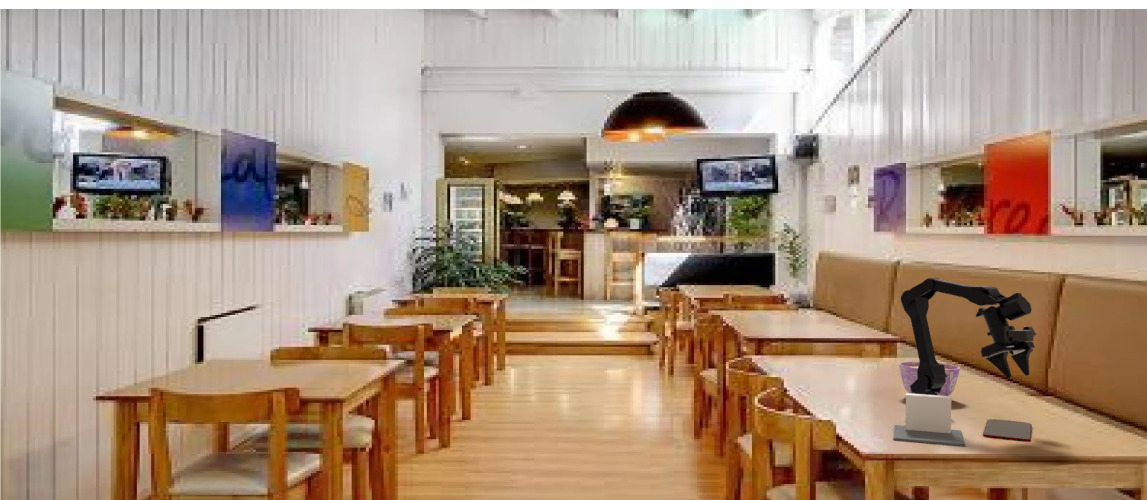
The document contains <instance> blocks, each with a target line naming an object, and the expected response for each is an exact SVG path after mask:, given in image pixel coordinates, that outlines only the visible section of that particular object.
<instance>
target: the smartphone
mask: <svg viewBox="0 0 1147 500" xmlns="http://www.w3.org/2000/svg"><path fill="white" fill-rule="evenodd" d="M1032 426H1033V425H1032V423H1029V422H1025V421H1015V420H1007V419H1006V420H1005V419H998V418H997V419H995V418H993V419H992V418H990V419H989V418H988V419H987V420H986V423H985V426H984V430H983V431H982V432H983V433H982V437H983V438H990V439H991V438H992V439H997V440H999V439H1000V440H1007V441H1008V440H1009V441H1016V442H1017V441H1018V442H1025V443H1026V442H1028V443H1031V441H1032V440H1031V439H1032V436H1031V432H1033V428H1032Z"/></svg>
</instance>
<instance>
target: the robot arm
mask: <svg viewBox="0 0 1147 500" xmlns="http://www.w3.org/2000/svg"><path fill="white" fill-rule="evenodd" d="M937 292H938V293H942V294H947V295H951V296H956V297H959V298H964V299H965V300H967V301H968V302H970V303H973V304H975V305H977V306H979V308H978V311H977V312H976V314H975V317H976V318H981V317H982V318H983V319H984V321H985V323H986V326H987V328H988V332H986V334H987V337H991V338H992V341H993V343H991V344H988V345H985V346H983V347H981V349H980V351H979V352H980V354H981V357H982V358H983V359H986V360H987V361H988V362H990V364H992V365H994V367H995V368H996V369H998V370H999V371H1000V372H1001V373H1002V374H1003V375H1004V376H1005V377H1006V378H1007V379H1010V378H1012V372H1011V369H1010V365H1009V363H1008V359H1007V358H1008V354H1011V356H1010V357H1011V359H1012V360H1013V361H1014V362H1015V364H1016V365H1017V367H1018V368H1019V369H1020V371H1021V372H1022V374H1023V375H1024V376H1026V377H1028V376H1030V363H1029V359H1030V355H1031V354H1032V352H1033V351H1034V349H1035V347H1036V346H1035V344H1034V341H1035V340H1034V338H1035V336H1037V334H1036V332H1035V330H1034V328H1033V326H1024V327H1023V329H1016V328H1015V326H1013V325H1010V324H1009V321H1015V320H1017V319H1020V318H1023V317H1025V316H1027V315H1030V314H1031V313H1032V305H1031V303H1030V302H1029V301H1028V300H1027V298H1025V296H1023V295H1022V293H1021V292H1016V293H1012V295H1010V296H1008V297H1007V296H1005V295H1004V294H1002V293H1000V291H999V289H998V288H997V287H995V286H992V285H991V286H989V285H988V286H986V285H982V286H981V285H969V284H964V283H960V282H954V281H949V280H945V279H941V278H939V277H927V278H926V279H925V280H924V281H922V282H921V283H919V284H917V285H915V286H912V287H911V288H910V289H907V290H904V291H903V292H902V294H901V295H900V302H901V306H902V308H903V310H904V312H905V313H906V315H907V316H908V317H909V319H910V322H911V326H912V332H913V336H914V342H915V346H916V350H917V356H918V362H919V366H918V370H917V378H918V379H917V380H916V381H915V382H914V383H913V384H912V385H911V386H910V388H911V392H912V393H915V394H925V395H937V394H936V393H937V392H938V393H939V392H941V389H942V387H943V386H944V384H945V383H946V377H947V375H946V373H945V367H944V365H943V364H941V365H939V363H940V362H938V360H937V359H936V355H935V350H934V346H933V340H932V336H931V332H930V327H929V322H928V317H927V314H928V312H929V311H928V310H929V306H930V305H929V301H930V300H931V299H933V298H934V296H935V295H936V293H937ZM997 305H999V306H997ZM981 306H985V307H986V306H989V307H986V308H984V307H981ZM1008 320H1009V321H1008Z"/></svg>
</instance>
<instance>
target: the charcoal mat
mask: <svg viewBox="0 0 1147 500" xmlns="http://www.w3.org/2000/svg"><path fill="white" fill-rule="evenodd" d="M892 439H893V441H898V440H901V442H910V441H911V442H910V443H912V442H913V443H923V444H934V445H945V446H946V445H947V446H957V447H966V443H965V440H964V435H963V431H962V429H961V430H960V429H951V433H940V432H928V431H916V430H905V425H901V424H894V428H893V438H892Z"/></svg>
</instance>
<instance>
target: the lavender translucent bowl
mask: <svg viewBox="0 0 1147 500" xmlns="http://www.w3.org/2000/svg"><path fill="white" fill-rule="evenodd" d="M938 363H939V365H941V364H943V365H944V367H945V373H946V375H947V377H946V383H945V384H944V386H943V387H942V389H941V392H939V393H938V392H937V393H936V394H937V395H939V396H951V395H952V394H953V392H954V391H955V388H956V386H957V382H958V378H959V374H960V371H961V367H960V366H958V365H954V364H950V363H942V362H938ZM918 366H919V361H905V362H904V361H903V362H899V363H898V368H899V372H900V376H901V382H902V384H903V387H904V389H905V391H906V393H911V394H915V393H912V392H911V388H910V386H911V385H912V384H913V383H914V382H915V381H916V380H917V379H918V378H917V370H918Z"/></svg>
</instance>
